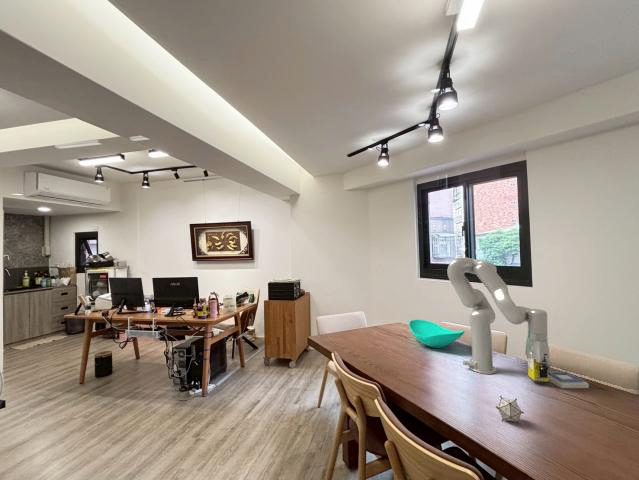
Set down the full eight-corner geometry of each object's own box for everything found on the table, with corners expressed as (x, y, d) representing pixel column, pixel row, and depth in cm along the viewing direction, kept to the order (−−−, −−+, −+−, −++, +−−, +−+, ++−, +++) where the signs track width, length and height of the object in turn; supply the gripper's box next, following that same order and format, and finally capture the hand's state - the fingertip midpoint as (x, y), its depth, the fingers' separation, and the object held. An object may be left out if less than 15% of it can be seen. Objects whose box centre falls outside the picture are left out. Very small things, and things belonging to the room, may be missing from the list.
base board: (561, 388, 136) (561, 380, 136) (542, 377, 148) (542, 370, 148) (588, 388, 136) (588, 380, 136) (567, 377, 148) (566, 370, 148)
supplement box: (548, 383, 138) (548, 359, 138) (533, 382, 139) (533, 358, 140) (541, 378, 144) (541, 355, 144) (527, 376, 145) (527, 354, 146)
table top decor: (476, 351, 186) (476, 330, 187) (443, 358, 175) (442, 335, 175) (429, 336, 222) (428, 317, 223) (399, 341, 211) (398, 321, 212)
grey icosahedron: (503, 429, 112) (486, 401, 117) (523, 419, 112) (505, 392, 118) (513, 429, 104) (494, 399, 109) (535, 419, 105) (514, 389, 110)
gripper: (517, 330, 151) (517, 366, 151) (542, 341, 134) (543, 382, 133) (532, 330, 151) (533, 367, 150) (559, 341, 133) (560, 382, 133)
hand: (537, 373), depth 142 cm, fingers closed on supplement box, 6 cm apart
